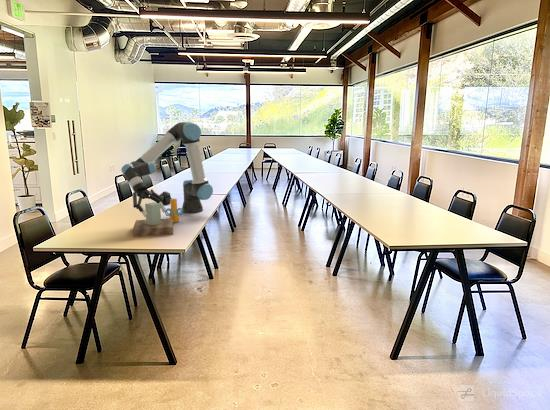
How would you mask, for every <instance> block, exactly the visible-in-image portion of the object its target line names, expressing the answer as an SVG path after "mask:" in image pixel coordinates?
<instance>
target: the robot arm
mask: <svg viewBox="0 0 550 410" xmlns="http://www.w3.org/2000/svg"><path fill="white" fill-rule="evenodd" d="M201 135H202V129H201V127H200V126H199V124H197V123H195V122H192V121H185V122H184V121H182V122H177V123H175V124H174V125H173V126H172V127H171V128H170V129H168V130H167V131H166V132H165V135H164V136H163V137H162V138H160V139H159V140H158V141H157V142H156V143H154V144H153V145H152V147H150V148H149V149H148V150H147V151H145V152H144V153H143V154H142V155H141V156H140V157H139V158H137V159H136V160H134V161H131V162H130V163H126V164H124V165H123V166H122V167H121V169H120V171H121V173H122V175H123V177H124V178H125V180H126V181H127V182H128V184H129V186H130V188H131V189H132V191H133V193H132V194H131V196H132V201H133V203H132V205H133V208H134V209H136V210H138V211H139V212H140V213H141V214H142V216H143V217H144V218H146V215H147V213H146V210H145V208H144V206H143V204H142V200H145V199H149V200H151V201H153V202H154V203H156V202H157V203H159V204H160V211H162V213H163V214H165V211H166V209H167V208H166V207H165V204H163V203H162V202H163V200H164V199H163V198H162V197H160V196H159V195H160V194H158V193H156V192H155V191H154V189H152V188H151V189H150V190H148V187H147V185H146V184H145V183H144V181H143V178H142V177H146V176H149V175H153V174H155V173H156V172H157V168H156V165H155V163H154V161H156V160H157V159H158V157H160V156H161V155H163V154H164V153H165V152H166V151H167V150H168V149H169V148H170V147H171V146H173V145H174V144H177V143H178V142H179V141H181V142H182V143H181V144H182V145H184V146H185V149H186V150H185V151H186V155H187V159H188V163H189V167H190V172H191V177H192V179H188V180H187V179H185V180H183V182H182V187H183V189H182V190H183V204H182V207H181V208H182V209H183V212H182V213H187V214H189V213H191V214H192V213H201V212H203V211H204V207H203V204H202V201H207V200H209V199H210V198H212V195H213V193H214V188H213V186H212V184H210V182H209V180H208V177H206V175H205V174H206V173H205V170H204V165H203V161H202V160H203V159H202V157H201V151H200V147H199V146H200V145H199V144H200V141H201V140H200V137H201ZM137 199H138V201H137ZM141 204H142V205H141Z"/></svg>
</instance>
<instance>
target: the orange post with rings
mask: <svg viewBox="0 0 550 410" xmlns="http://www.w3.org/2000/svg"><path fill="white" fill-rule="evenodd" d="M169 204H170V208H169V207H167V208H166V211H165V213H164V214H165V216H167V217H169V218H173V223H178V222H180V216H182V215H183V213H184V212H183V209H182V207H178V199H177V198H172V199H170V203H169ZM168 211H169V212H168ZM179 211H180V212H179Z"/></svg>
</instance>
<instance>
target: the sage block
mask: <svg viewBox="0 0 550 410" xmlns="http://www.w3.org/2000/svg"><path fill="white" fill-rule="evenodd" d="M144 207H145V208H144V209H145V211H146V213H147V215H146V217H145V220H146V224H149V225H156V224H160V223H161V219H162V215H161V211H162V210H161V208H160V204H159V203H156V202H155V201H153V202H150V203H149V202H148V203H145V205H144Z"/></svg>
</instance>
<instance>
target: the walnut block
mask: <svg viewBox="0 0 550 410" xmlns="http://www.w3.org/2000/svg"><path fill="white" fill-rule="evenodd" d="M134 222H135V223H134V224H133V228H132V237H133V238H138V237H139V238H141V237H153V236H157V237H158V236H170V235H174V222H173V218H170V217H168V218H167V217H166V218H161V223H160V224H156V225H149V224H146V219H136V220H135V221H134Z"/></svg>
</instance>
